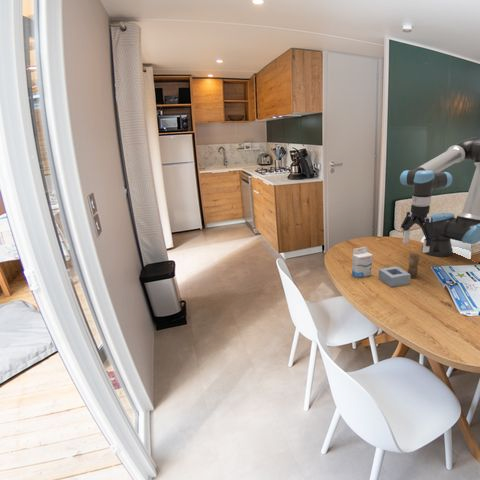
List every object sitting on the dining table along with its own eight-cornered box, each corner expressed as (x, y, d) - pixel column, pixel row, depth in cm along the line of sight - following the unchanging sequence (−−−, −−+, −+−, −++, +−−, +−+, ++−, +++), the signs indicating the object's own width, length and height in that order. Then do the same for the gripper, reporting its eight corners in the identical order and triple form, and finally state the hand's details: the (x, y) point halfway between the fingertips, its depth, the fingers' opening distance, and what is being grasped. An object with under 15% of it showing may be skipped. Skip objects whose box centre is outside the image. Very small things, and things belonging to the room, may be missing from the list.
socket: (396, 274, 155) (397, 266, 153) (409, 283, 145) (410, 274, 144) (378, 277, 153) (379, 269, 152) (390, 287, 144) (391, 277, 142)
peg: (412, 274, 154) (415, 252, 150) (418, 277, 150) (421, 255, 146) (405, 275, 153) (408, 253, 149) (411, 278, 149) (413, 256, 145)
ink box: (356, 278, 155) (358, 252, 150) (351, 274, 159) (352, 248, 155) (371, 275, 156) (373, 249, 152) (365, 271, 161) (367, 246, 156)
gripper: (395, 200, 150) (391, 240, 157) (434, 211, 127) (427, 257, 134) (409, 198, 151) (404, 238, 158) (449, 209, 128) (442, 255, 135)
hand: (415, 247), depth 146 cm, fingers open, 13 cm apart
